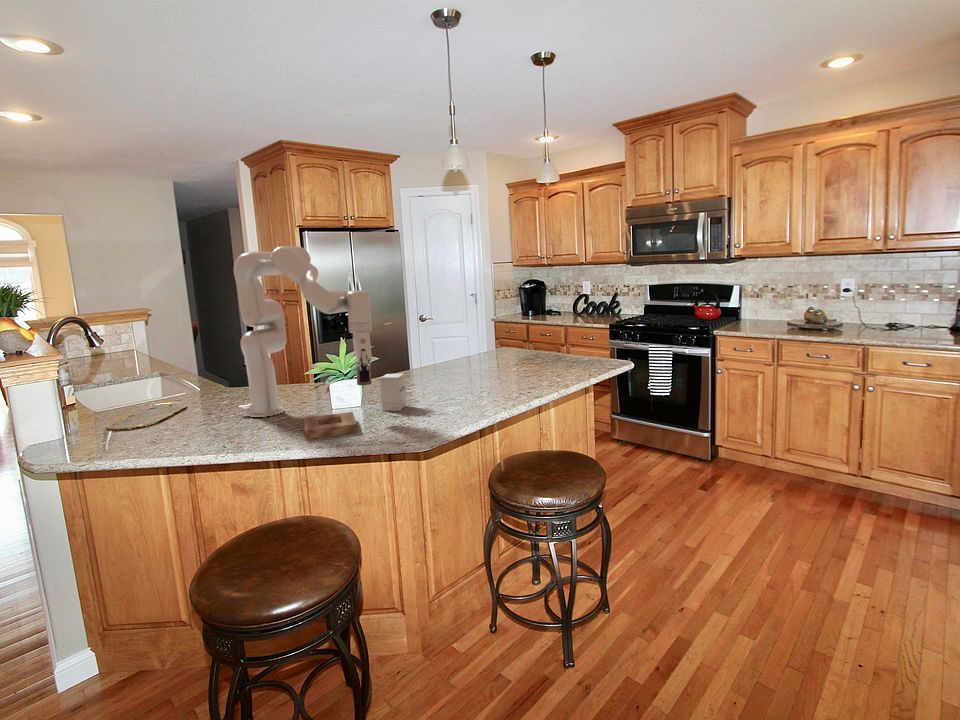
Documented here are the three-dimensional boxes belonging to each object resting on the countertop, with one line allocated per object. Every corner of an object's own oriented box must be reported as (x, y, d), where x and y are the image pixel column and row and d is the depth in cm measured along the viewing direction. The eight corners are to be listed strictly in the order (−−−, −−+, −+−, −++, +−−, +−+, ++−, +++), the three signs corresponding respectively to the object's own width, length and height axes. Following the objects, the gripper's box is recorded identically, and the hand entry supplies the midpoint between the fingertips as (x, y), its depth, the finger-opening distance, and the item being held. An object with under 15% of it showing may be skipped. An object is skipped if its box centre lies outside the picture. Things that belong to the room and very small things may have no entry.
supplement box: (400, 411, 195) (398, 377, 193) (381, 410, 197) (378, 377, 195) (407, 405, 202) (404, 373, 200) (388, 405, 204) (386, 373, 202)
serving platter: (94, 433, 187) (93, 429, 187) (150, 407, 222) (149, 403, 221) (148, 430, 188) (148, 425, 188) (195, 404, 222) (195, 401, 222)
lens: (357, 385, 180) (356, 362, 178) (356, 383, 185) (354, 360, 183) (372, 384, 181) (370, 361, 180) (370, 381, 186) (369, 359, 185)
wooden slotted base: (305, 440, 167) (304, 430, 166) (305, 426, 182) (304, 417, 181) (357, 432, 171) (356, 423, 171) (353, 420, 186) (352, 411, 186)
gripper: (374, 329, 173) (378, 384, 176) (368, 324, 188) (372, 374, 192) (351, 331, 170) (355, 386, 174) (346, 325, 186) (350, 376, 190)
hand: (363, 379), depth 183 cm, fingers closed on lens, 4 cm apart
